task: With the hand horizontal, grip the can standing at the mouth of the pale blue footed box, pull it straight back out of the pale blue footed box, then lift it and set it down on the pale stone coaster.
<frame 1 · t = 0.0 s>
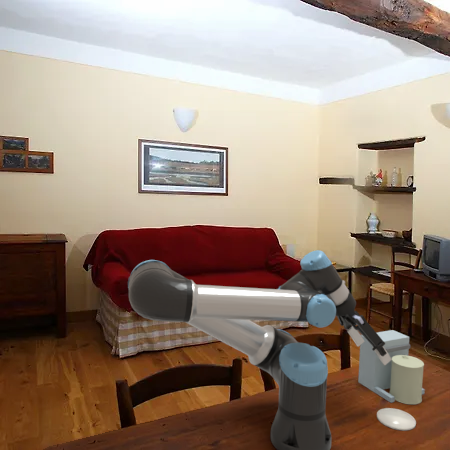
hand: (373, 352, 122), 15 cm above the table, tool tilted 35°, fingers open, 13 cm apart
coaster: (396, 419, 114), on the table
pale blue footed box: (405, 396, 127), on the table
can: (405, 397, 127), on the table
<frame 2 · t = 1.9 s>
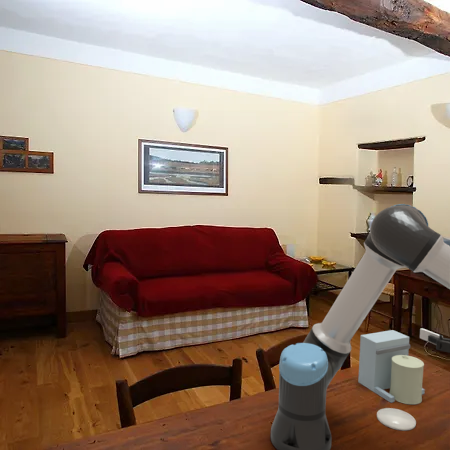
hand: (438, 329, 116), 25 cm above the table, tool horizontal, fingers open, 13 cm apart
nothing on the table moved.
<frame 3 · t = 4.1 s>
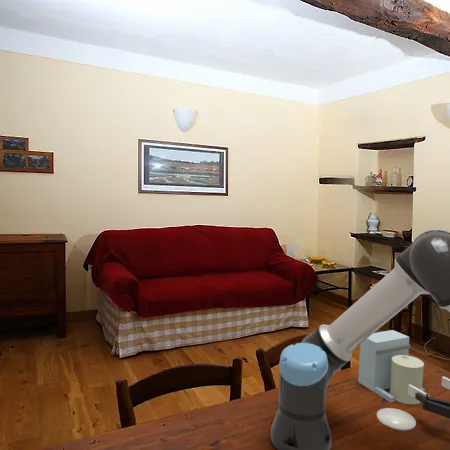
hand: (426, 384, 120), 7 cm above the table, tool horizontal, fingers open, 13 cm apart
nothing on the table moved.
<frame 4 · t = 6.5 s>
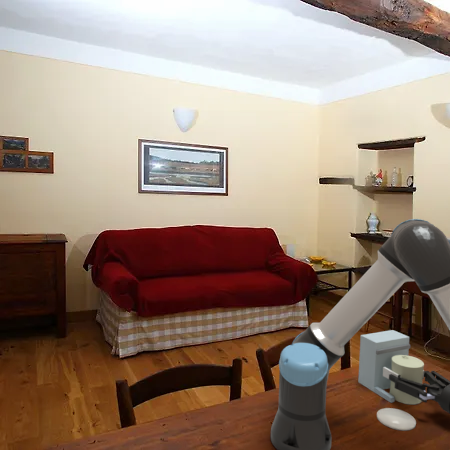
hand: (395, 368, 130), 7 cm above the table, tool horizontal, fingers closed on can, 9 cm apart
can: (405, 397, 127), on the table, touching gripper
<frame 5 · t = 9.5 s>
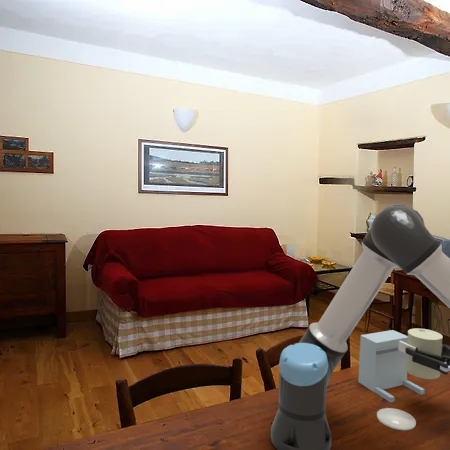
hand: (411, 343, 124), 18 cm above the table, tool horizontal, fingers closed on can, 9 cm apart
can: (422, 372, 120), point 11 cm above the table, touching gripper
when the fingers open (8 cm above the table, at t = 12.6 s): can stays where it is, resting on coaster.
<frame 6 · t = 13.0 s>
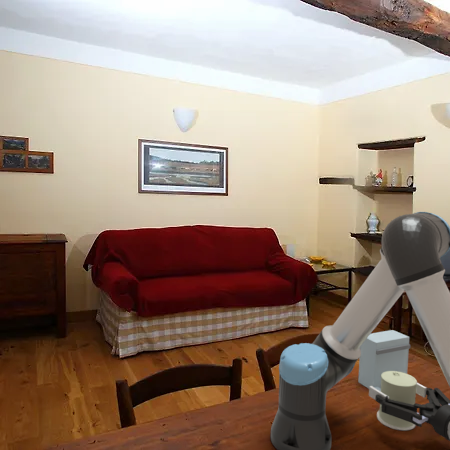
hand: (388, 386, 116), 8 cm above the table, tool horizontal, fingers open, 13 cm apart
can: (396, 418, 114), resting on coaster
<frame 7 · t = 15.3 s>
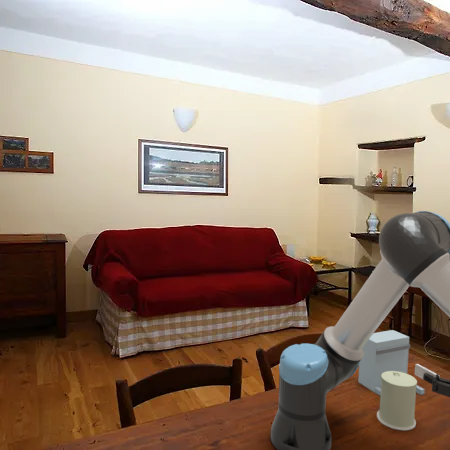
hand: (435, 365, 105), 19 cm above the table, tool horizontal, fingers open, 13 cm apart
nothing on the table moved.
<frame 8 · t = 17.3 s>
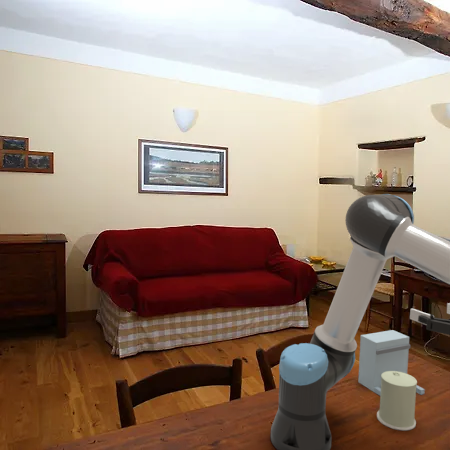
hand: (429, 310, 109), 32 cm above the table, tool horizontal, fingers open, 13 cm apart
nothing on the table moved.
at the end: can 0.1 cm from the coaster (horizontally); can tilted 0°; the gripper is holding nothing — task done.
